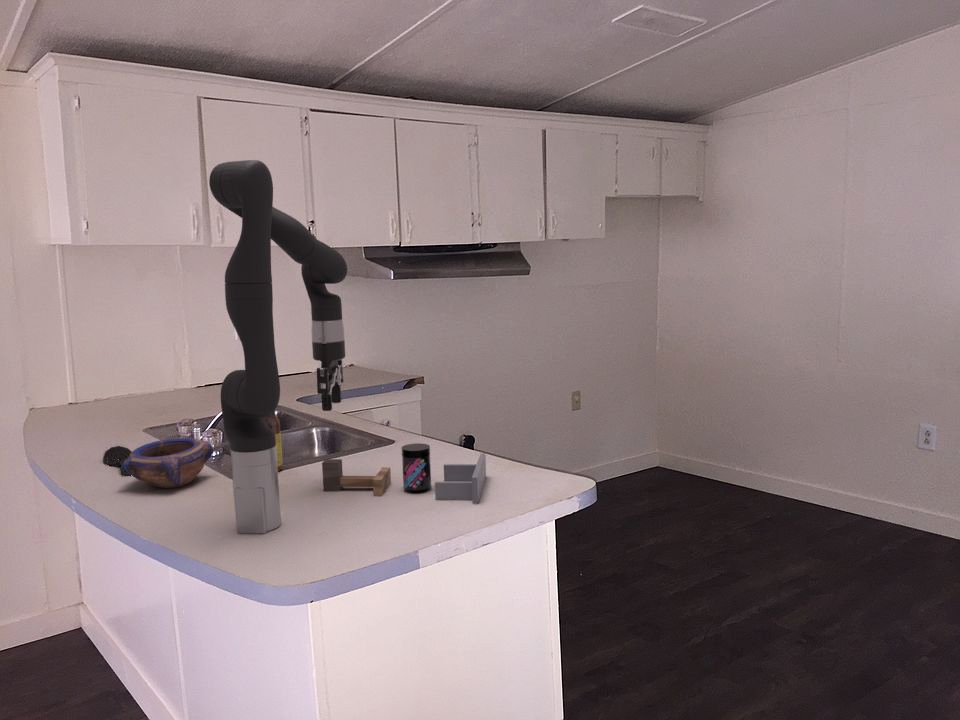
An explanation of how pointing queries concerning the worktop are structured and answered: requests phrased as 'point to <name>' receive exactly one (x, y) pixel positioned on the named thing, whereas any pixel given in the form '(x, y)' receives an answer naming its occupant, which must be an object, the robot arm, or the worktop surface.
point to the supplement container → (416, 468)
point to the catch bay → (462, 473)
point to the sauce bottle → (274, 425)
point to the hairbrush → (117, 457)
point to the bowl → (169, 461)
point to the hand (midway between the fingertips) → (332, 406)
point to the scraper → (353, 478)
